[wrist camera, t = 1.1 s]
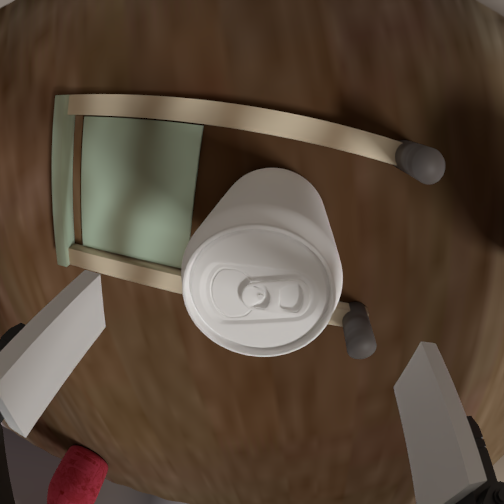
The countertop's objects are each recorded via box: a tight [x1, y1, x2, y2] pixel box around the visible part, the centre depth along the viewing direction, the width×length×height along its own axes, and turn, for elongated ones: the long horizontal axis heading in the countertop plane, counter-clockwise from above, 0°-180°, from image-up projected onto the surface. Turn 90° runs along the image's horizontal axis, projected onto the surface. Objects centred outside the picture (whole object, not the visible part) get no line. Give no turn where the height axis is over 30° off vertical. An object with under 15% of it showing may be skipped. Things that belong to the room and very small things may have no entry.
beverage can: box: [181, 168, 343, 357], centre depth 20 cm, size 8×8×12 cm
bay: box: [52, 94, 445, 359], centre depth 23 cm, size 30×17×5 cm, turn 81°
